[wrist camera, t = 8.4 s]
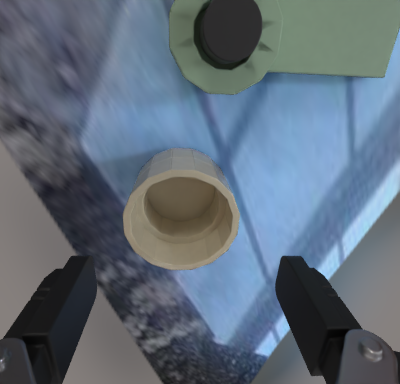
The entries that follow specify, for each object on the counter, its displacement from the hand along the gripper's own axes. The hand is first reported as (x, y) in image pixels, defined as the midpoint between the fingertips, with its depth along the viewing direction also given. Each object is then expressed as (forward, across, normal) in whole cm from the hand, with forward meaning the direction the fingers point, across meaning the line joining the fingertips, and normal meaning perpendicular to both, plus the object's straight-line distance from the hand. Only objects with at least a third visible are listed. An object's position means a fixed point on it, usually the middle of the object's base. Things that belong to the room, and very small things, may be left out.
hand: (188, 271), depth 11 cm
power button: (+6, -2, -10) cm, 11 cm away
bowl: (+9, 0, 0) cm, 9 cm away
